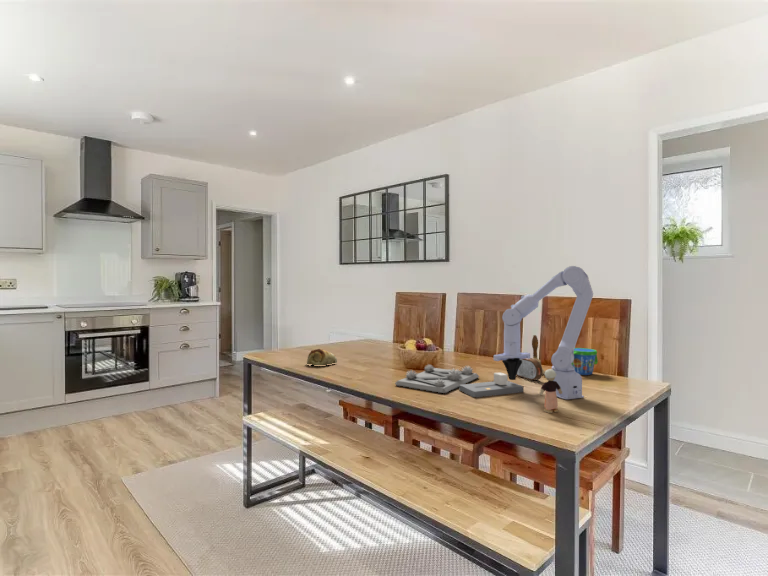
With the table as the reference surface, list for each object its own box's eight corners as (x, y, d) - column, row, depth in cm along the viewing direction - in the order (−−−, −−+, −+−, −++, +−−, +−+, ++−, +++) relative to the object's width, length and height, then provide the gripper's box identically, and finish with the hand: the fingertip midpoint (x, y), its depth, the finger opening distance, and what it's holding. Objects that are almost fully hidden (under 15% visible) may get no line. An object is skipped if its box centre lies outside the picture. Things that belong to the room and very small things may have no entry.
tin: (543, 382, 164) (543, 360, 164) (536, 382, 163) (536, 360, 163) (517, 374, 178) (517, 354, 178) (511, 374, 177) (511, 354, 177)
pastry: (304, 367, 194) (304, 350, 194) (309, 362, 206) (309, 346, 206) (335, 367, 194) (334, 350, 194) (338, 362, 206) (338, 345, 206)
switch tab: (507, 384, 150) (507, 374, 150) (500, 385, 149) (500, 375, 149) (500, 382, 154) (500, 372, 154) (493, 382, 153) (493, 373, 153)
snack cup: (587, 369, 185) (587, 346, 185) (607, 374, 175) (607, 350, 175) (558, 372, 180) (558, 348, 180) (577, 377, 170) (577, 352, 170)
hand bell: (547, 375, 176) (547, 336, 175) (526, 374, 177) (526, 336, 177) (543, 370, 184) (543, 334, 184) (523, 370, 185) (523, 333, 185)
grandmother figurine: (553, 407, 131) (553, 366, 130) (564, 411, 127) (564, 369, 127) (535, 411, 127) (535, 369, 127) (546, 415, 124) (546, 371, 123)
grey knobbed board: (433, 373, 183) (433, 356, 183) (480, 379, 170) (480, 362, 170) (393, 387, 159) (393, 368, 159) (444, 396, 146) (444, 375, 146)
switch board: (523, 391, 149) (523, 386, 149) (474, 397, 142) (474, 391, 142) (506, 385, 159) (506, 380, 159) (459, 390, 152) (459, 384, 152)
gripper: (521, 339, 160) (521, 375, 160) (488, 341, 155) (488, 378, 155) (534, 342, 153) (534, 379, 153) (500, 344, 148) (500, 383, 148)
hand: (512, 379), depth 154 cm, fingers closed
